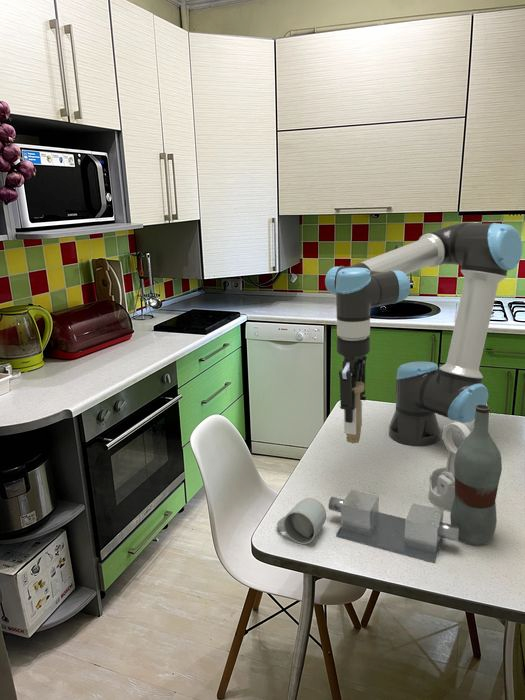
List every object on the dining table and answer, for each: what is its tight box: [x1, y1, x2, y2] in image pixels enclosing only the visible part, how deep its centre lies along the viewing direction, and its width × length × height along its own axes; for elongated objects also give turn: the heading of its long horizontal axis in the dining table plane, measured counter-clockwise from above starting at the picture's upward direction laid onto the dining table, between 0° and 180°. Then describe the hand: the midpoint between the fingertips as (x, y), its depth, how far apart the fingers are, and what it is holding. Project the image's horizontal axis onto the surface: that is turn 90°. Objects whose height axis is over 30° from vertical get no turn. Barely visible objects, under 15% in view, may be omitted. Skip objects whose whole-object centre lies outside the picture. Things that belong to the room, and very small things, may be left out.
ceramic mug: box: [276, 497, 327, 545], centre depth 118 cm, size 11×8×8 cm
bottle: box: [449, 404, 503, 547], centre depth 111 cm, size 9×9×30 cm
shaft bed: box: [328, 489, 460, 564], centre depth 116 cm, size 12×28×7 cm, turn 63°
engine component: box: [428, 421, 472, 512], centre depth 126 cm, size 11×20×10 cm
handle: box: [345, 381, 364, 444], centre depth 127 cm, size 5×6×15 cm
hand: (353, 429), depth 128 cm, fingers closed on handle, 4 cm apart
